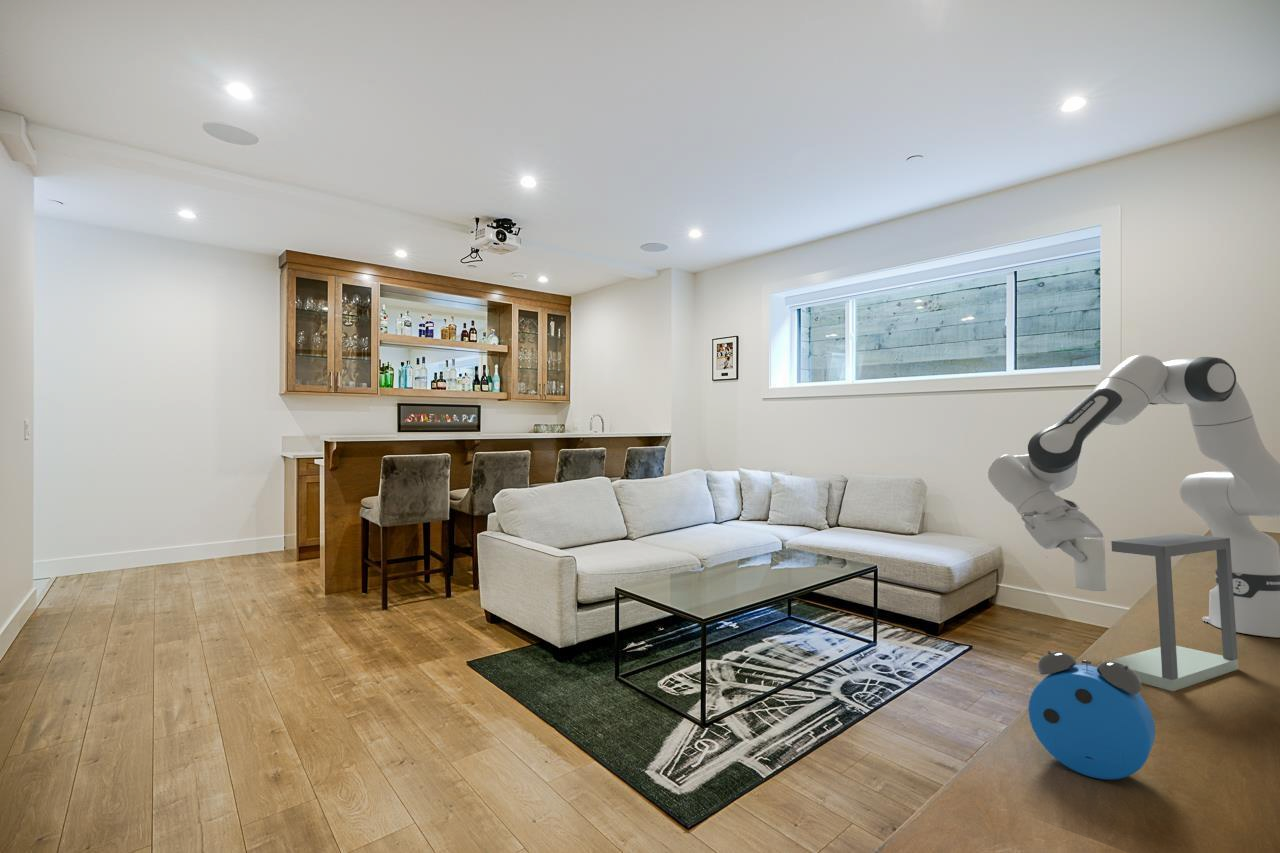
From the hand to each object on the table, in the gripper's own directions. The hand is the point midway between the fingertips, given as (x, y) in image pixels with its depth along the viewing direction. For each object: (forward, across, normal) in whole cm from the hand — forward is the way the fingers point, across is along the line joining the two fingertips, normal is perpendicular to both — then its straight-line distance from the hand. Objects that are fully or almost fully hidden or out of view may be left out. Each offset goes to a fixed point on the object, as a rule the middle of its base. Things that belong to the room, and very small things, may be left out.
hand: (1092, 559), depth 131 cm
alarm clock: (+34, -57, -5) cm, 67 cm away
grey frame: (+23, 0, +5) cm, 24 cm away
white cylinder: (+4, 0, +5) cm, 6 cm away
